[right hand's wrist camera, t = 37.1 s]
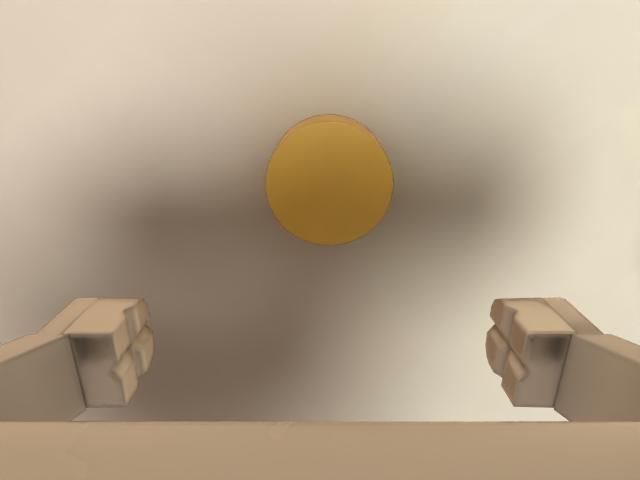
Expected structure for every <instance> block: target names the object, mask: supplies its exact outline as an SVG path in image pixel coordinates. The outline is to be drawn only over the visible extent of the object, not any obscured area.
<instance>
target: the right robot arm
mask: <svg viewBox="0 0 640 480" xmlns="http://www.w3.org/2000/svg"><path fill="white" fill-rule="evenodd" d="M149 317H150V312H149V307H148V303H147V302H146V301H145V300H144V299H135V298H100V297H95V298H76V299H75V300H73V301H72V302H71V303H70V304H69V305H68V306H67V307H66V308H65V309H63V310H62V311H61V312H60V313H59V314H58V315H57V316H56V317H55V318H53V319H52V320H51V321H50V322H49V323H48V324H47V325H46V326H44V327H43V328H42V329H41V330H40V331H39V332H38V333H37V334H28V335H26V336H23V337H21V338H18V339H16V340H13V341H11V342H8V343H6V344H3V345H1V346H0V480H640V346H639V345H637V344H634V343H632V342H629V341H627V340H624V339H622V338H619V337H617V336H614V335H612V334H603V333H602V332H601V331H600V330H599V329H598V328H597V327H596V326H594V325H593V324H592V323H591V322H590V321H589V320H588V319H587V318H586V317H584V316H583V315H582V314H581V313H580V312H579V311H578V310H577V309H576V308H574V307H573V306H572V305H571V304H570V303H569V302H568V301H567V300H566V299H563V298H560V297H555V298H510V299H496V300H494V302H493V304H492V306H491V312H490V317H491V318H492V320H493V321H494V323H495V325H494V326H493V327H492V328H491V329H490V330H489V331H488V332H487V337H486V355H487V359H488V362H489V365H490V367H491V369H492V370H493V372H494V373H496V374H497V375H499V376H501V377H502V384H501V386H502V388H503V389H504V391H505V393H506V394H507V396H508V398H509V399H510V401H511V403H512V404H513V406H514V407H548V408H554V410H555V411H557V412H558V413H559V414H561V415H562V416H563V417H565V418H566V419H567V420H569V421H570V422H236V421H71V420H73V419H74V418H75V417H77V416H78V415H79V414H81V413H82V412H84V411H85V410H86V408H92V407H126V406H127V404H128V403H129V401H130V399H131V398H132V396H133V394H134V393H135V391H136V389H137V388H138V386H139V384H138V377H139V376H141V375H143V374H144V373H146V372H147V370H148V369H149V367H150V365H151V362H152V358H153V354H154V336H153V332H152V331H151V330H150V329H149V328H148V327H147V326H146V325H145V323H146V321H147V320H148V318H149Z"/></svg>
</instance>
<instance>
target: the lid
mask: <svg viewBox="0 0 640 480" xmlns="http://www.w3.org/2000/svg"><path fill="white" fill-rule="evenodd" d="M265 188H266V195H267V199H268V203H269V205H270V208H271V210H272V212H273V214H274V216H275V217H276V219H277V220H278V221H279V223H280V224H281V225H282V226H283V227H284V228H285V229H286V230H288V231H289V232H290V233H291V234H293V235H295V236H296V237H298V238H300V239H302V240H304V241H307V242H310V243H313V244H318V245H339V244H345V243H348V242H351V241H354V240H356V239H358V238H360V237H362V236H364V235H365V234H367V233H368V232H369V231H371V230H372V229H373V228H374V227H375V226H376V225H377V224H378V223H379V221H380V220H381V219H382V218H383V216H384V214H385V213H386V211H387V209H388V206H389V204H390V201H391V197H392V192H393V174H392V169H391V165H390V162H389V160H388V157H387V155H386V154H385V152H384V150H383V149H382V147H381V145H380V144H379V142H378V141H377V139H376V138H375V137H374V135H373V134H372V133H371V132H370V131H369V130H368V129H367V128H366V127H364V126H363V125H362V124H360V123H358V122H357V121H355V120H353V119H350V118H347V117H344V116H339V115H319V116H314V117H311V118H308V119H306V120H304V121H302V122H300V123H298V124H297V125H295V126H294V127H292V128H291V129H290V130H289V131H288V132H287V133H286V134H285V135H284V137H283V138H282V139H281V141H280V142H279V144H278V146H277V148H276V149H275V151H274V153H273V155H272V157H271V159H270V162H269V165H268V168H267V172H266V180H265Z"/></svg>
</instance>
